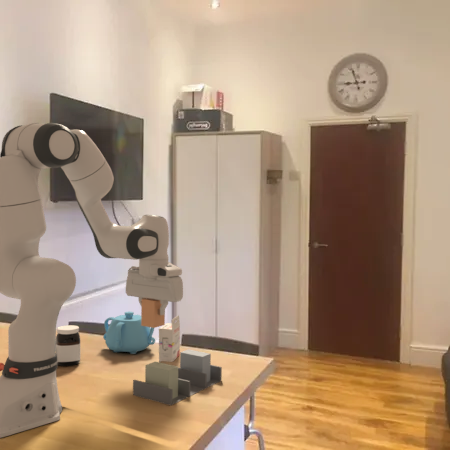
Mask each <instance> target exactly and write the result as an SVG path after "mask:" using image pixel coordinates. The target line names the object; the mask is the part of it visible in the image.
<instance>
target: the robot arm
mask: <svg viewBox="0 0 450 450" xmlns="http://www.w3.org/2000/svg"><path fill="white" fill-rule="evenodd" d="M57 168H58V169H59V168H61V170H62V171H63V172H64V174H65V176H66V177H67V179H68V180H69V182H70V184H71V186H72V188H73V190H74V194H75V195H74V196H75V199H76V202H77V205H78V207H79V209H80V210H81V213H82V215H83V217H84V219H85V221H86V223H87V225H88V226H89V228H90V231H91V233H92V236H93V241H94V244H95V248H96V251H98V253H99V254H100V255H101V256H102V258H106V259H124V260H138V266H133V265H132V266H131V267H129V268H128V270H127V278H126V283H125V294H126V295H127V296H128V297H135V298H138V302H139V305H140V307H141V310H142V299H146V298H148V299H155V300H160V304H162V305H161V307H160V309H158V315H164V314H165V313H166V309H167V307H168V305H169V302H171V303H177V302H181V301H182V299H183V296H184V285H183V283H184V282H183V279H182V277H181V276H182V274H183V270H182V268H181V267H178V266H177V265H175V264H173V263H171V262H169V254H168V248H169V244H170V240H169V238H170V235H169V234H170V232H169V225H168V221H167V219H166V218H165V217H163V216H161V215H157V214H156V215H155V214H143V215H142V217H141V219H139V220H138V221H137V222H134V223H133V224H132V225H129V226H127V225H118V224H116V223H114V222H113V221H111V219H110V217H109V214H108V213H107V211H106V209H105V207H104V204H103V203H102V199H103V198H104V197H105V196H106V195H107V194H108V193H109V192H110V191H111V189H112V188H113V184H114V182H115V181H114V179H115V177H114V173H113V171H112V168H111V166H110V165H109V163H108V161H107V160H106V157H104V155H103V153H102V152H101V150H100V149H99V148H98V146H97V144H96V143H95V142H94V141H93V139H92V138H91V137H90V136H89V135H88V134H87V133H86V132H85V131H84V130H82V129H81V130H80V129H77V128H76V129H74V128H73V129H69V128H68V127H67V126H65V125H63V124H60V123H55V122H48V123H39V122H31V123H28V124H23V125H17V126H14V127H13V128H11V129H9V130H8V131H7V132H6V133H5V135H4V136H3V138H2V141H1V151H0V294H2V295H4V296H6V297H7V298H10V299H17V300H20V307H19V310H18V313H17V316H16V319H14V320H12V322H11V323H10V324H9V326H8V330H7V331H8V334H7V335H8V339H7V340H8V342H7V343H8V351H7V352H8V356H7V357H6V361H5V363H3V362H0V372H1V375H0V439H1V438H4V437H8V436H11V435H15V434H17V433H20V432H21V433H22V432H25V431H27V430H31V429H34V428H38V427H41V426H44V425H47V424H49V423H53V422H58V421H59V420H60V419H61V413H62V411H63V406H62V402H61V399H60V393H59V388H58V380H57V370H58V365H57V354H56V352H55V348H56V336H57V322H58V319H59V315H60V311H61V309H62V307H63V305H64V303H66V301H68V299H70V298H71V296H72V295H73V293H74V291H75V289H76V284H77V277H76V274H75V273H76V272H75V271H74V269H73V268H72V267H71V266H70V265H69V264H67V263H65V262H63V261H60V260H58V259H55V258H49V257H41V256H40V254H39V248H40V247H39V246H40V241H41V238H42V237H43V236H44V234H45V233H46V231H47V223H46V218H45V217H46V216H45V213H44V206H43V202H42V201H43V200H42V196H41V191H40V187H39V176H40V173H41V170H45V169H57ZM165 315H166V314H165Z"/></svg>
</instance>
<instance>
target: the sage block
mask: <svg viewBox="0 0 450 450" xmlns="http://www.w3.org/2000/svg"><path fill="white" fill-rule="evenodd" d="M178 367H179V366H176V365H173V364H169V363H168V364H167V363H163V362H159V361H153V362H150V363H148V364H145V373H144V374H145V375H144V377H145V379H144V380H145V381H144V382H146V383H150V384H154V385H158V386H162V387H166V388H170V389H173V397H172V399H173V398H175V397H178Z"/></svg>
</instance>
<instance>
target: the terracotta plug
mask: <svg viewBox="0 0 450 450" xmlns="http://www.w3.org/2000/svg"><path fill="white" fill-rule="evenodd" d="M161 305H162V304H160V300H155V299H148V298H146V299H142V310H141V313H140V314H141V315H140V316H141V326H146V327H150V328H151V327H152V328H154V329H155V328H158V327H159V328H160V327H162V326H163V325H165V324H166V323H165V322H166V319H165V317H166V314H164V315H158V309H160V307H161Z"/></svg>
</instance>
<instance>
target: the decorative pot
mask: <svg viewBox="0 0 450 450" xmlns="http://www.w3.org/2000/svg"><path fill="white" fill-rule="evenodd" d="M109 321H110V324H109ZM103 325H104V329H105V333H104V334H103V339H104V340H105V345H106V347H107V349H109V350H111V351H112V352H113V353H120V352H122V353H123V352H125V353H126V352H127V353H129V354H130V355H136V354H138V352H140V351H144V350H145V349H147V348H149V346H150V345H151V346H152V345H155V343H156V338H154V337H153V335H154V331H155V328H152V327H146V326H141V315H140V314H134V311H125V312H124V314H121V315H118V316H115V317H114V316H110V317H108V318H106V319H105V320H104V323H103Z"/></svg>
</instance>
